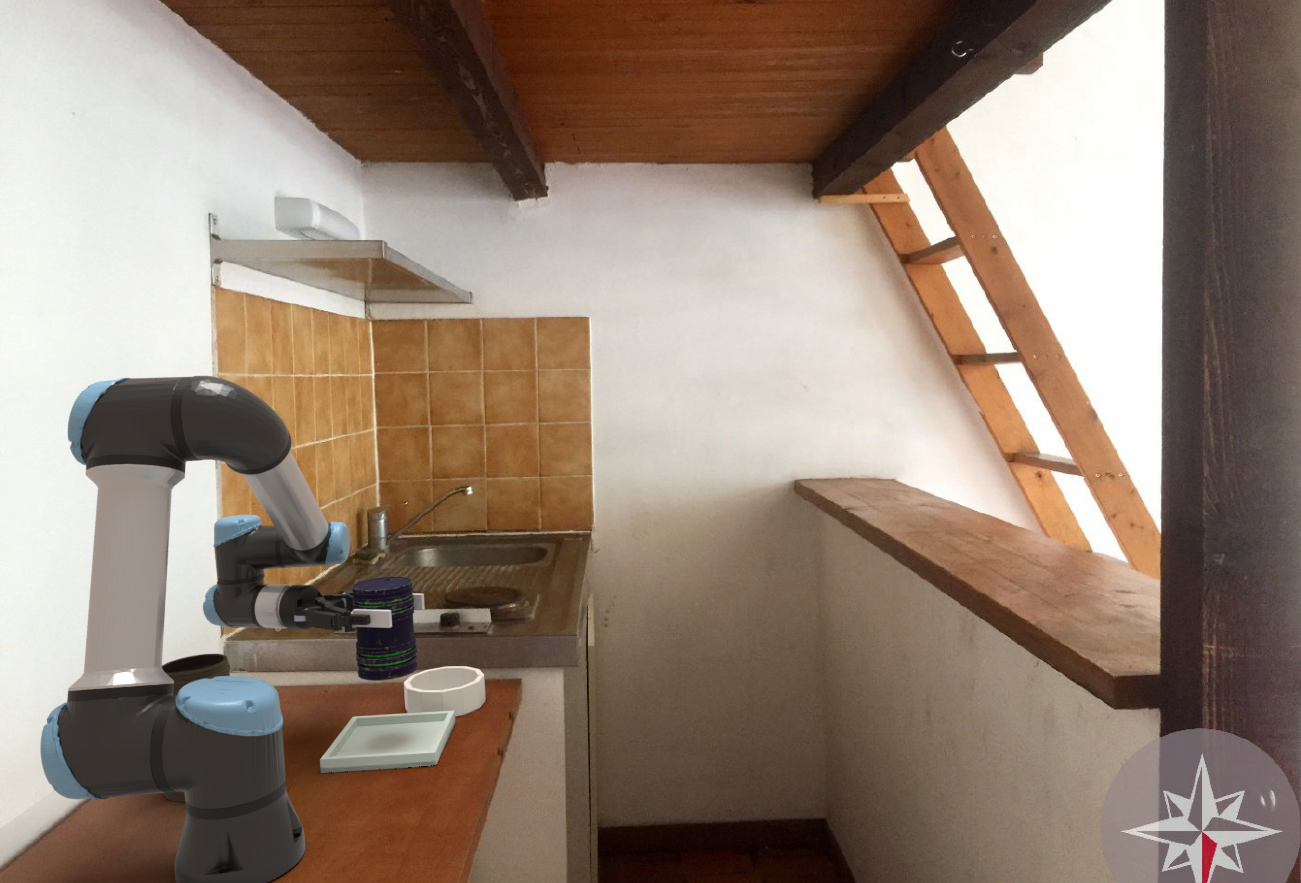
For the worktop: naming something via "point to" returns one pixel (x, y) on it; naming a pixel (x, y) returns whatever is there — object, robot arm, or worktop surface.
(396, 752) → the tray
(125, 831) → the worktop surface
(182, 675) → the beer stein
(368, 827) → the worktop surface
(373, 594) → the rusty blue drum
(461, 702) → the holder ring
